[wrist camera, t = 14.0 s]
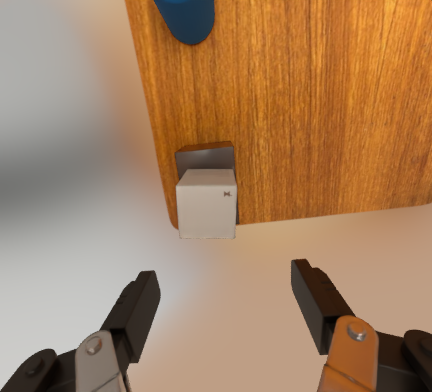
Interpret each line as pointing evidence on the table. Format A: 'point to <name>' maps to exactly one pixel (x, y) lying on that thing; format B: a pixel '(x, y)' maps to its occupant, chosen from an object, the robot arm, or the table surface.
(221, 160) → the shelf
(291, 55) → the table surface
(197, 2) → the beverage can
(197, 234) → the product box
